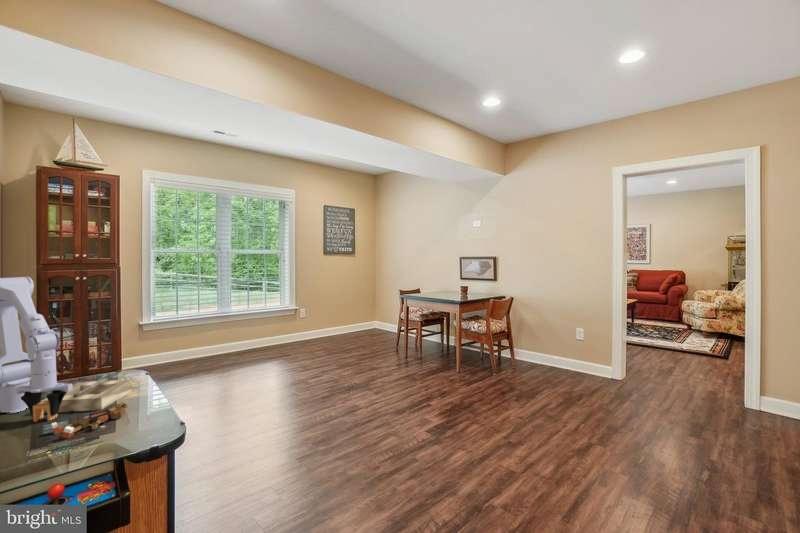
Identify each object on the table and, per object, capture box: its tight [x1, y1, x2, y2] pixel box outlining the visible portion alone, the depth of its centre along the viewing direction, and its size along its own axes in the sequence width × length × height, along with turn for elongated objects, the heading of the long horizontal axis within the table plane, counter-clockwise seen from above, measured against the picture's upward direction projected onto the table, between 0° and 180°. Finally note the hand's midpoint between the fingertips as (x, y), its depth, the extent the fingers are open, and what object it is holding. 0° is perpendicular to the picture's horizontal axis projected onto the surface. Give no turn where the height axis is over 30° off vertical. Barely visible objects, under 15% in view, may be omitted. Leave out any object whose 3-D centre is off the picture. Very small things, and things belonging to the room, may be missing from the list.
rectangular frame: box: [40, 379, 133, 414], centre depth 131 cm, size 18×18×5 cm
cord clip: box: [32, 402, 58, 423], centre depth 116 cm, size 5×3×5 cm, turn 99°
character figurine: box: [51, 402, 128, 439], centre depth 113 cm, size 10×18×4 cm, turn 152°
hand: (45, 414), depth 116 cm, fingers closed on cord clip, 5 cm apart
